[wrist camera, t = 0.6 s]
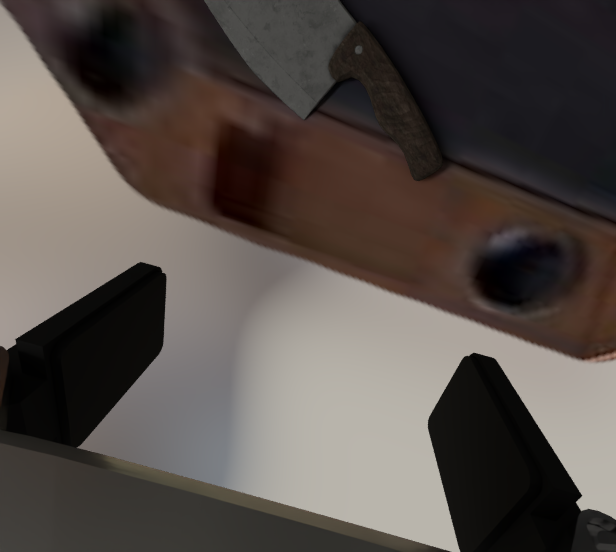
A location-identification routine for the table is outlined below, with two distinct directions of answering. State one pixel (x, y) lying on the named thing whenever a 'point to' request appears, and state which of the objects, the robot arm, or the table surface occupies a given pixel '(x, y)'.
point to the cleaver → (326, 65)
